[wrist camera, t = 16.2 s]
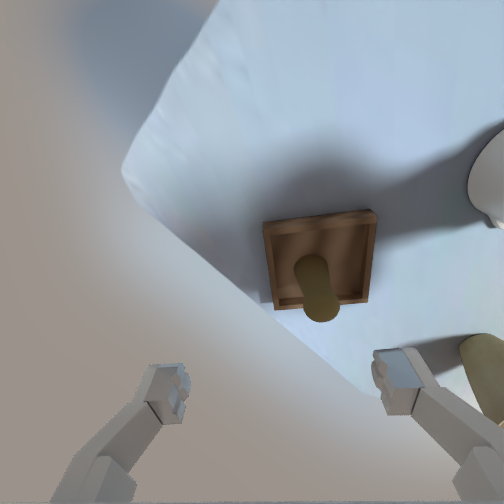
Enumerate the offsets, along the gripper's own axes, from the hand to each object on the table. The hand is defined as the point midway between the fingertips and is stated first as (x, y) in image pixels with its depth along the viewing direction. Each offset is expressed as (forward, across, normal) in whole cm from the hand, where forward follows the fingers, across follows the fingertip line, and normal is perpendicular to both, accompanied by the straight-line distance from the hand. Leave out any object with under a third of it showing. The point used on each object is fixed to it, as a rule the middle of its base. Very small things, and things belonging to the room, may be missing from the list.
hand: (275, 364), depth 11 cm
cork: (+30, -6, +17) cm, 35 cm away
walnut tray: (+31, -7, +16) cm, 36 cm away
